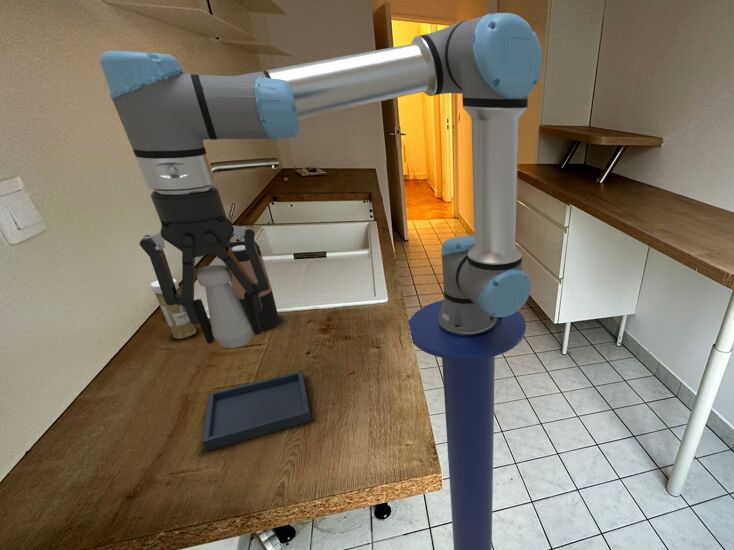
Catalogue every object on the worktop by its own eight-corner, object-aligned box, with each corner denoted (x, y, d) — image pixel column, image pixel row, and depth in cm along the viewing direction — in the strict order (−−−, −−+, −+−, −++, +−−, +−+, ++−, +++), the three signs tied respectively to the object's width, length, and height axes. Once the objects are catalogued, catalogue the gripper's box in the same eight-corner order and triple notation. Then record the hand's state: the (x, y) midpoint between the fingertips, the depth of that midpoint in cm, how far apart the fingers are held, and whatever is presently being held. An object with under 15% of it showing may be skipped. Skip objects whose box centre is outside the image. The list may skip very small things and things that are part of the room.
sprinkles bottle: (194, 337, 95) (172, 284, 88) (170, 340, 94) (146, 287, 87) (199, 328, 99) (178, 276, 92) (176, 331, 97) (153, 278, 90)
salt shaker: (225, 333, 70) (198, 261, 63) (262, 331, 71) (239, 259, 64) (210, 352, 65) (180, 276, 58) (250, 349, 66) (225, 274, 59)
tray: (304, 379, 83) (302, 370, 82) (311, 421, 73) (309, 412, 72) (212, 401, 76) (208, 392, 75) (206, 451, 66) (202, 441, 65)
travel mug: (238, 330, 99) (210, 250, 89) (258, 315, 105) (235, 239, 95) (268, 332, 98) (243, 252, 88) (287, 317, 104) (266, 241, 95)
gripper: (82, 199, 49) (159, 360, 60) (263, 189, 57) (300, 332, 68) (100, 187, 54) (167, 336, 66) (262, 179, 62) (296, 313, 74)
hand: (235, 334), depth 67 cm, fingers closed on salt shaker, 6 cm apart
